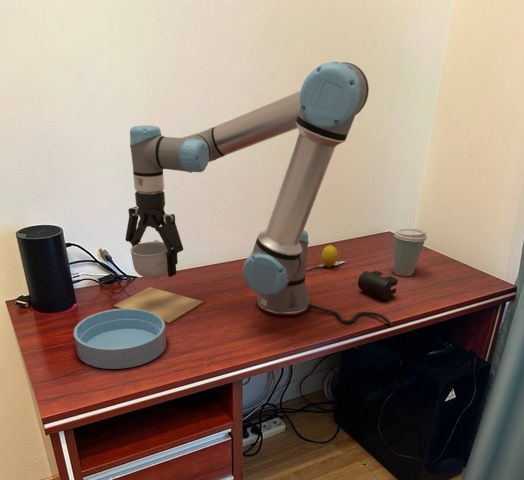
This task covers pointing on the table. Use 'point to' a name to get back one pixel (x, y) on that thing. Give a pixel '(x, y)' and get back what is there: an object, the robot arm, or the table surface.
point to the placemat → (160, 303)
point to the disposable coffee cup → (407, 250)
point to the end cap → (377, 285)
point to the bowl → (120, 338)
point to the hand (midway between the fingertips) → (155, 271)
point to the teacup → (150, 259)
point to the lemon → (329, 255)
